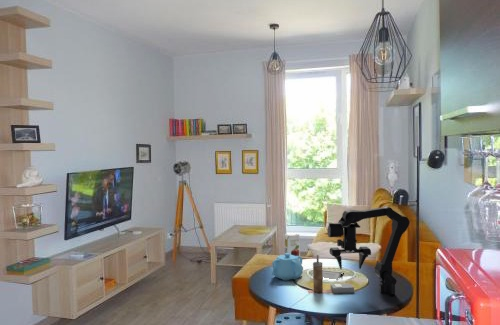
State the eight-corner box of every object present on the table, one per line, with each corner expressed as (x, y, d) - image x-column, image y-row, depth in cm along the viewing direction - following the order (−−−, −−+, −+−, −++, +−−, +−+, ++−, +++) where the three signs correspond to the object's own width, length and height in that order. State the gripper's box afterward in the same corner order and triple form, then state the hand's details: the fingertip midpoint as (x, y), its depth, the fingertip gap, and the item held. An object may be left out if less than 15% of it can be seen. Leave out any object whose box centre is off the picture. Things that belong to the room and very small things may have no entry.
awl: (323, 290, 193) (322, 254, 193) (322, 293, 189) (321, 256, 189) (314, 289, 195) (313, 253, 194) (313, 292, 190) (312, 255, 190)
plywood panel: (350, 290, 196) (350, 288, 196) (361, 302, 180) (361, 300, 180) (306, 292, 195) (306, 289, 195) (313, 304, 179) (313, 301, 179)
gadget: (319, 270, 232) (318, 264, 232) (344, 273, 226) (344, 267, 226) (308, 282, 211) (308, 275, 211) (336, 285, 205) (336, 278, 205)
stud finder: (350, 288, 196) (350, 282, 196) (354, 292, 190) (354, 286, 190) (330, 288, 195) (330, 283, 195) (333, 293, 189) (333, 287, 189)
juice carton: (283, 263, 246) (282, 233, 246) (295, 261, 250) (294, 232, 249) (289, 266, 239) (289, 235, 239) (301, 264, 243) (301, 234, 242)
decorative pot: (279, 272, 229) (279, 248, 229) (306, 275, 222) (305, 251, 222) (268, 280, 215) (268, 255, 214) (296, 283, 208) (296, 258, 207)
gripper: (363, 232, 197) (363, 263, 197) (326, 233, 196) (327, 264, 196) (371, 237, 185) (371, 270, 186) (332, 238, 185) (332, 271, 185)
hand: (350, 269), depth 188 cm, fingers open, 9 cm apart
